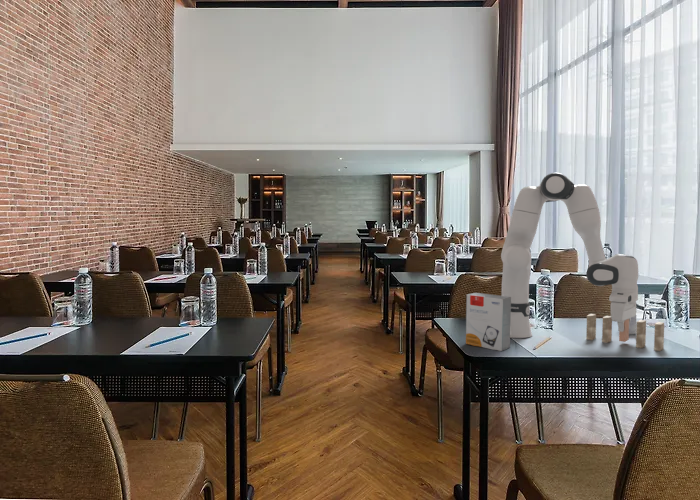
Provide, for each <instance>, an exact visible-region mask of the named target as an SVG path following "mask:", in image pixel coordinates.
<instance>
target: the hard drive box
mask: <svg viewBox="0 0 700 500" xmlns="http://www.w3.org/2000/svg"><path fill="white" fill-rule="evenodd" d="M465 295H466V300H465V301H466V303H465V305H466V307H465V310H466V311H465V344H466V345H469V346H470V345H471V346H474V347H480V348H484V349H489V350H493V351H498V352H502V351H505V350H508V349H510V348H511V338H510V321H511V297H507V296H502V295H498V294H497V295H496V294H489V293H482V292H481V293H480V292H473V293H468V294H465Z"/></svg>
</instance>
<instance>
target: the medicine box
mask: <svg viewBox="0 0 700 500" xmlns="http://www.w3.org/2000/svg"><path fill="white" fill-rule="evenodd" d="M636 325H637V314H636V315H635V316H633V317H631V321H630V324H629V335H636Z"/></svg>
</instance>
